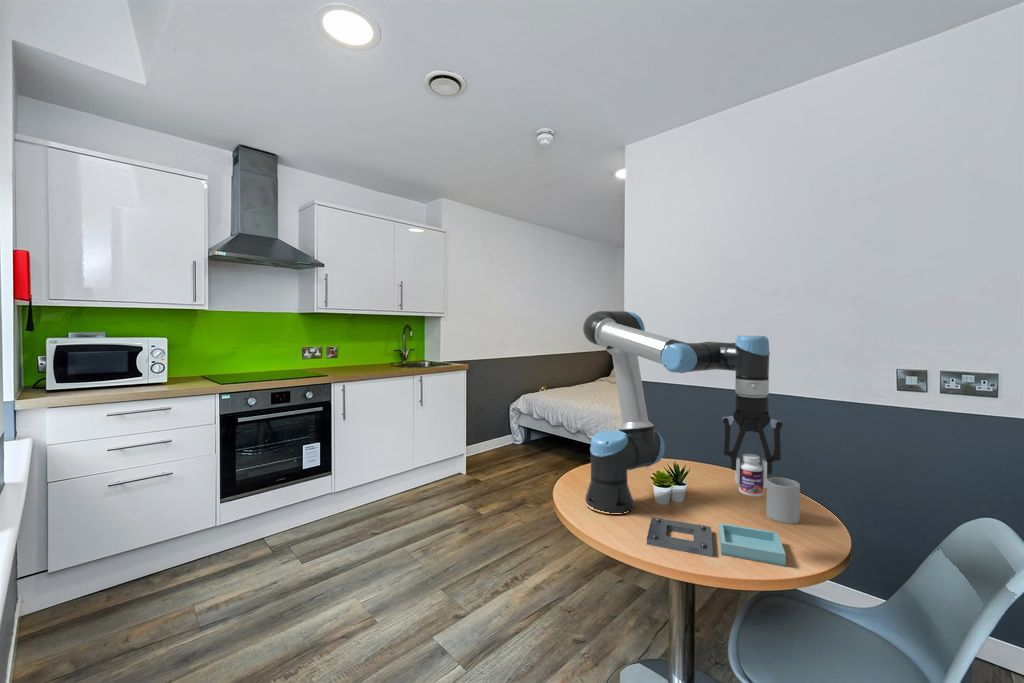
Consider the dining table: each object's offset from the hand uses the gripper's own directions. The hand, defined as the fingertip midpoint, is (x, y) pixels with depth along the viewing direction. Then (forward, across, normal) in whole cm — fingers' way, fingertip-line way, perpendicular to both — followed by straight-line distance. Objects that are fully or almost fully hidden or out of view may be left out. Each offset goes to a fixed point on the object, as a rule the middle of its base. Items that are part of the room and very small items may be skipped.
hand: (750, 484), depth 110 cm
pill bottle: (+3, 0, 0) cm, 3 cm away
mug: (+17, +11, +26) cm, 33 cm away
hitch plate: (+17, -17, -1) cm, 24 cm away
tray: (+17, 0, 0) cm, 17 cm away
